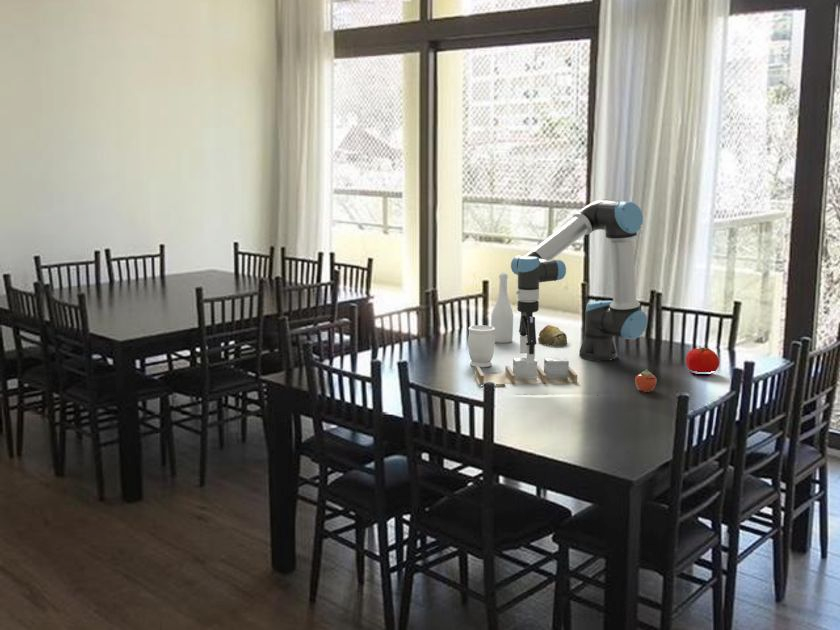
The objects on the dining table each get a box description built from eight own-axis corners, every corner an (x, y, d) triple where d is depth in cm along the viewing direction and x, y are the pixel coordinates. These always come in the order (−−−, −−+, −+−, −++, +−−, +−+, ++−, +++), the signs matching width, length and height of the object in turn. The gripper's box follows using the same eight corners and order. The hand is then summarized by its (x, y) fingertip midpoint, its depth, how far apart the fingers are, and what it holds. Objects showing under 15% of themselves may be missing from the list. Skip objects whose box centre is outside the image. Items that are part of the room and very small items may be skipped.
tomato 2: (692, 368, 340) (694, 342, 338) (723, 374, 331) (725, 348, 329) (677, 373, 332) (679, 346, 330) (709, 379, 324) (711, 352, 322)
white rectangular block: (534, 376, 321) (534, 358, 319) (536, 379, 316) (537, 361, 315) (512, 376, 320) (513, 358, 319) (514, 379, 316) (515, 361, 314)
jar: (492, 369, 335) (493, 331, 332) (465, 367, 337) (466, 329, 334) (495, 362, 345) (496, 325, 342) (469, 361, 347) (470, 324, 344)
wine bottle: (513, 343, 379) (515, 275, 374) (491, 343, 379) (493, 274, 374) (511, 338, 389) (513, 272, 383) (490, 338, 389) (491, 271, 383)
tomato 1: (643, 394, 303) (644, 372, 301) (629, 389, 309) (631, 367, 308) (660, 392, 305) (661, 370, 304) (647, 387, 312) (648, 365, 311)
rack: (569, 375, 326) (569, 365, 326) (579, 386, 312) (580, 376, 311) (473, 376, 324) (473, 366, 323) (479, 387, 309) (479, 376, 308)
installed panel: (565, 376, 321) (565, 358, 320) (567, 379, 317) (568, 361, 316) (543, 376, 321) (544, 358, 320) (546, 380, 316) (546, 361, 315)
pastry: (537, 339, 389) (537, 321, 387) (565, 340, 388) (566, 322, 386) (538, 346, 375) (539, 328, 373) (568, 347, 374) (569, 329, 372)
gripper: (511, 294, 325) (511, 349, 329) (524, 307, 300) (523, 366, 305) (531, 293, 325) (530, 349, 329) (545, 306, 301) (544, 366, 305)
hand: (527, 357), depth 317 cm, fingers open, 13 cm apart
